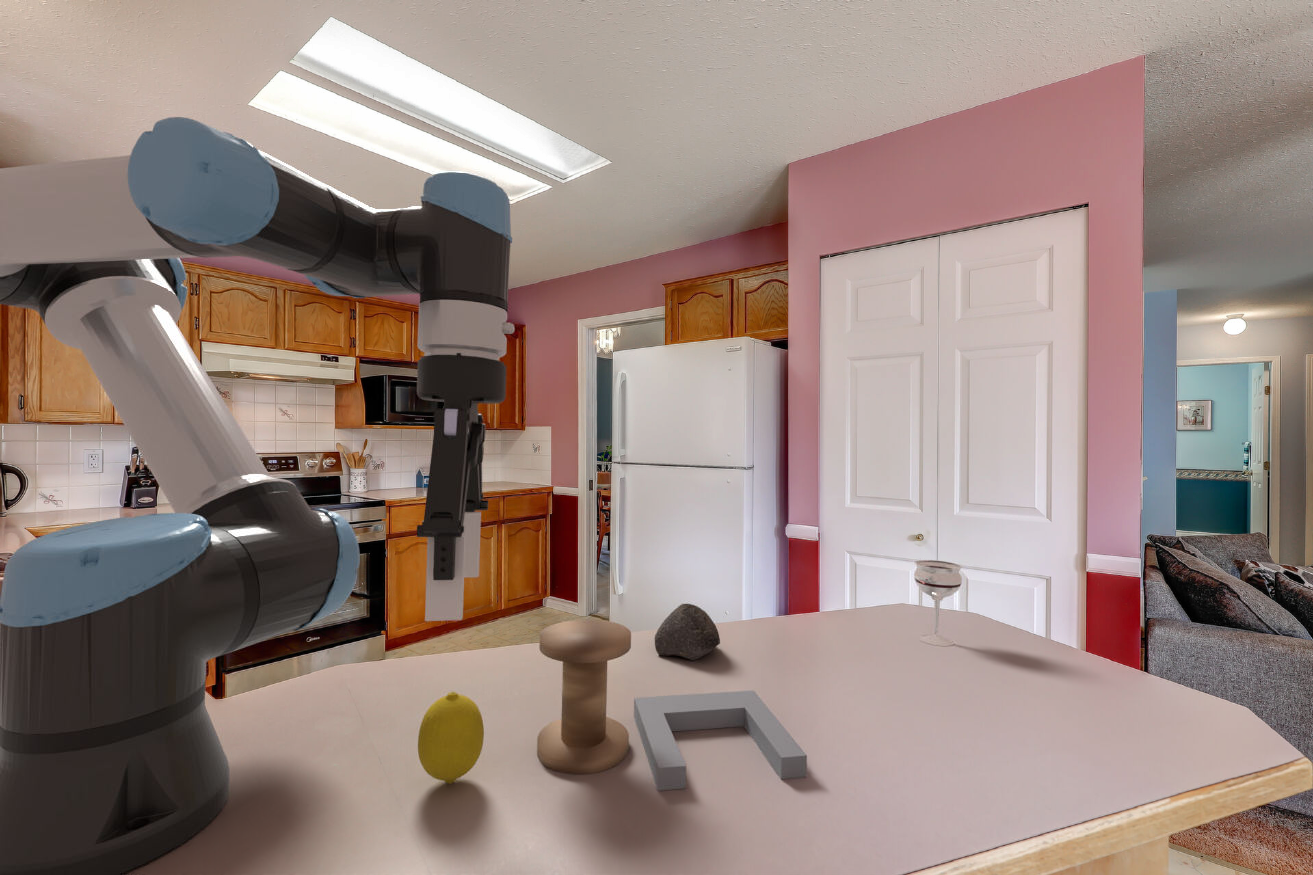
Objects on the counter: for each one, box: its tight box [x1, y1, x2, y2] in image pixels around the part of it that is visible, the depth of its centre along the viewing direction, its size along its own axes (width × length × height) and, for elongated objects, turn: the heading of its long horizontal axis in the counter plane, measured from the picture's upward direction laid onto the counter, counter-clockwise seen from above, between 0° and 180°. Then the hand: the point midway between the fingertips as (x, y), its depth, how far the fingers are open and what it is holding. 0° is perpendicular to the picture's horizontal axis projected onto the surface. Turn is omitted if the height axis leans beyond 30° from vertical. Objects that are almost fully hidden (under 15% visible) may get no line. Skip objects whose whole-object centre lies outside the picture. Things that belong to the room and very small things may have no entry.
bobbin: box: [536, 619, 632, 775], centre depth 58 cm, size 9×9×11 cm
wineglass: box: [914, 559, 963, 647], centre depth 93 cm, size 7×7×12 cm
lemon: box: [417, 691, 485, 784], centre depth 52 cm, size 6×6×8 cm
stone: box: [654, 603, 721, 661], centre depth 85 cm, size 10×8×10 cm
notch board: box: [633, 690, 808, 792], centre depth 60 cm, size 14×14×2 cm
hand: (455, 595), depth 53 cm, fingers open, 13 cm apart
